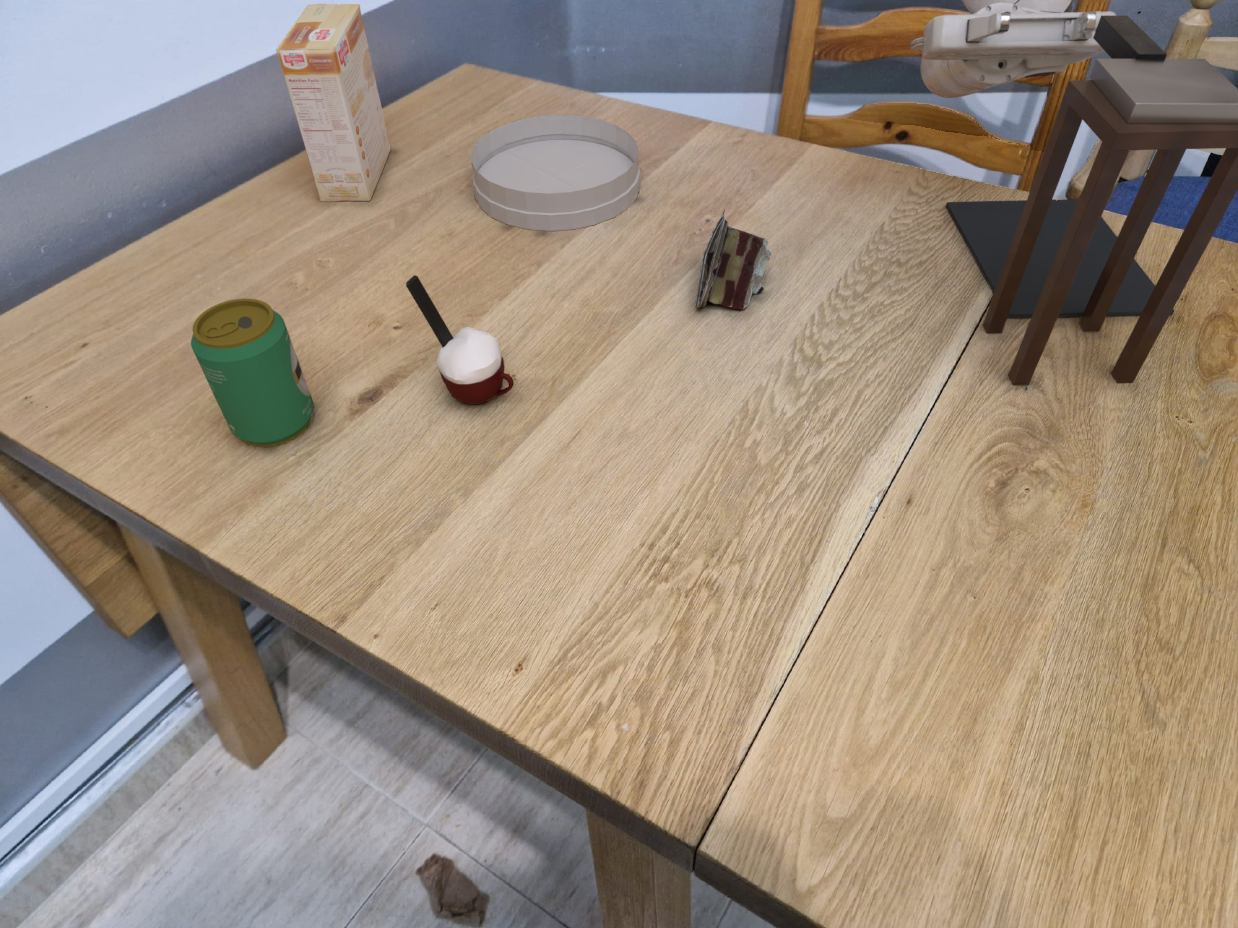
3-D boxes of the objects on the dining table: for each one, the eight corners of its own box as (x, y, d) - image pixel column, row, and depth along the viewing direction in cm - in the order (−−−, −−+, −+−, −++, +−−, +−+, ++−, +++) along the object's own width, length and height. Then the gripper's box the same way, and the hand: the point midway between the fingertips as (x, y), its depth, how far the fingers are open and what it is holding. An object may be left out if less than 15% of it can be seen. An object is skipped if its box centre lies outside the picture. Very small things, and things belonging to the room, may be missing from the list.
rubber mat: (1086, 203, 110) (1087, 199, 110) (1172, 315, 94) (1174, 310, 93) (945, 206, 110) (946, 201, 110) (1006, 318, 94) (1008, 314, 93)
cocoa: (526, 400, 86) (514, 299, 77) (473, 428, 83) (454, 328, 74) (473, 354, 91) (456, 256, 82) (422, 380, 88) (398, 281, 79)
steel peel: (1155, 38, 81) (1164, 15, 79) (1244, 124, 68) (1257, 98, 67) (1056, 38, 81) (1064, 15, 80) (1127, 123, 68) (1138, 98, 67)
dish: (674, 187, 115) (675, 151, 111) (547, 251, 104) (544, 214, 101) (565, 134, 126) (563, 100, 123) (441, 187, 116) (435, 151, 112)
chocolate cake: (758, 327, 94) (792, 221, 93) (696, 307, 93) (731, 200, 93) (739, 334, 103) (770, 237, 103) (683, 316, 103) (714, 218, 102)
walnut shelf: (1093, 322, 93) (1208, 77, 74) (1133, 382, 86) (1270, 129, 67) (982, 324, 93) (1068, 80, 74) (1013, 385, 86) (1117, 132, 67)
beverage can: (326, 431, 83) (290, 331, 74) (242, 461, 80) (194, 360, 72) (304, 384, 88) (268, 285, 79) (224, 411, 85) (177, 311, 76)
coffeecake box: (343, 149, 124) (306, 3, 110) (393, 149, 124) (362, 2, 110) (317, 202, 113) (272, 48, 99) (371, 202, 113) (334, 47, 99)
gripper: (907, 19, 102) (951, -11, 89) (1080, 15, 102) (1150, -15, 89) (903, 76, 104) (945, 56, 90) (1073, 73, 104) (1141, 52, 90)
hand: (1048, 20), depth 89 cm, fingers open, 8 cm apart
